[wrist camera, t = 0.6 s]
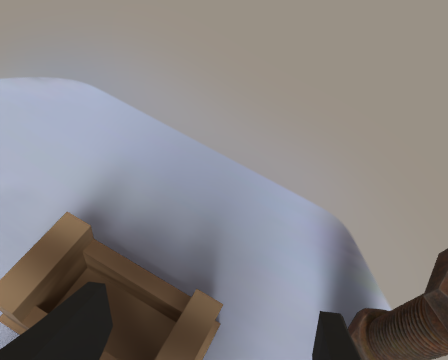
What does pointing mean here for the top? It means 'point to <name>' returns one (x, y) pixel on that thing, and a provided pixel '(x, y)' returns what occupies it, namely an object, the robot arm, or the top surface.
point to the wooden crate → (117, 296)
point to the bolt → (407, 324)
